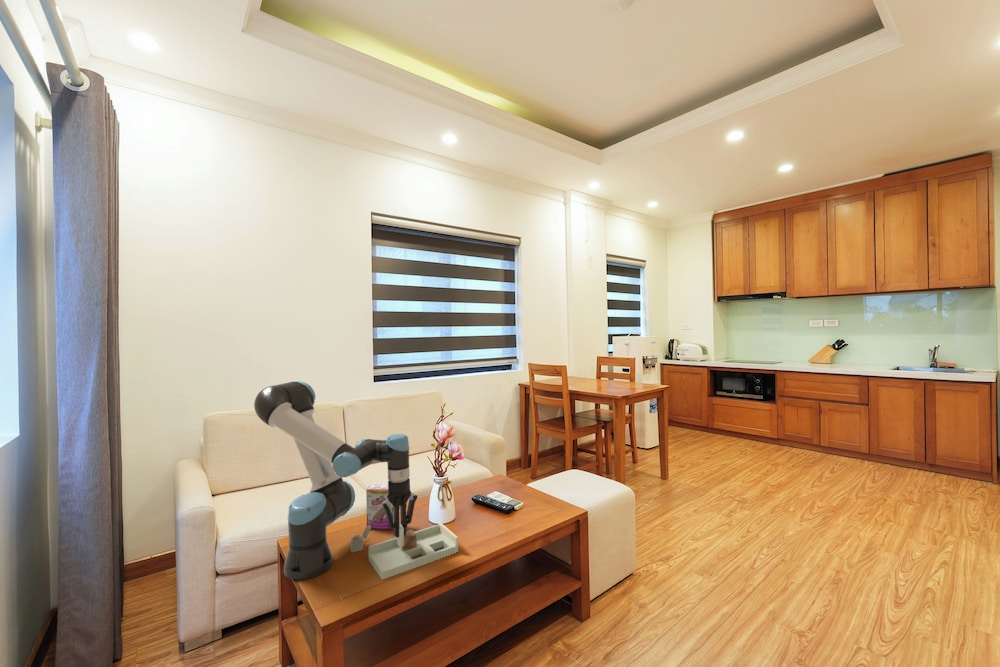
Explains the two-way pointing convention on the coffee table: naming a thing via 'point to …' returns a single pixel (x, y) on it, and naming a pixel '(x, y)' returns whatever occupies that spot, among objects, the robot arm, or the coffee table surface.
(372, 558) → the board
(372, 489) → the candy bar box
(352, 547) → the lighter
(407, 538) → the block
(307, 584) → the coffee table surface
